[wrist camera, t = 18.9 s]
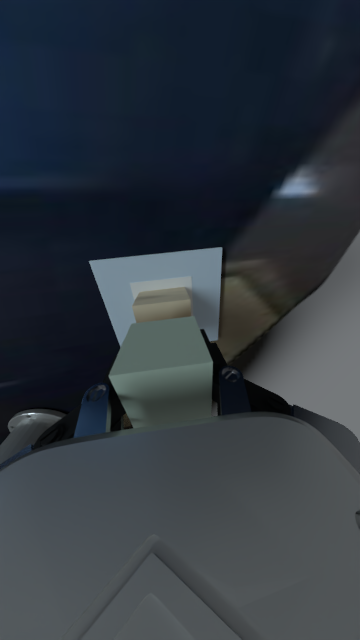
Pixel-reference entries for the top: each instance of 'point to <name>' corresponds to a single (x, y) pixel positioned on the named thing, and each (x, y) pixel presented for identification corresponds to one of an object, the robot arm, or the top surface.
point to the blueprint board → (161, 284)
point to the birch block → (162, 305)
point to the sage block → (164, 372)
